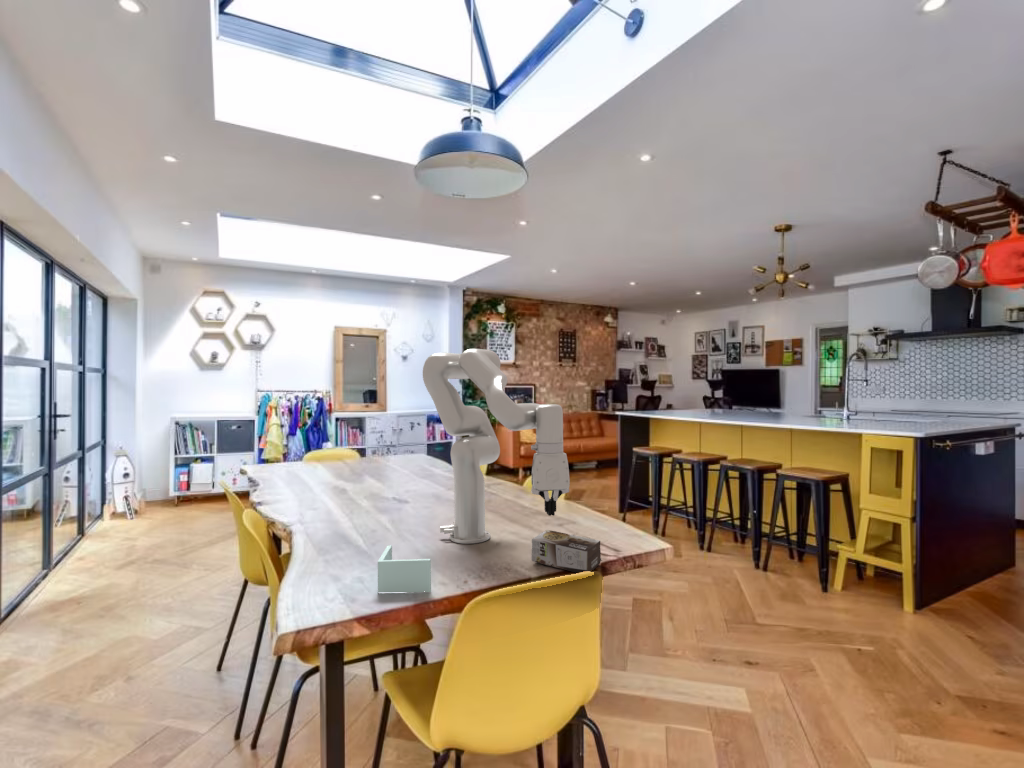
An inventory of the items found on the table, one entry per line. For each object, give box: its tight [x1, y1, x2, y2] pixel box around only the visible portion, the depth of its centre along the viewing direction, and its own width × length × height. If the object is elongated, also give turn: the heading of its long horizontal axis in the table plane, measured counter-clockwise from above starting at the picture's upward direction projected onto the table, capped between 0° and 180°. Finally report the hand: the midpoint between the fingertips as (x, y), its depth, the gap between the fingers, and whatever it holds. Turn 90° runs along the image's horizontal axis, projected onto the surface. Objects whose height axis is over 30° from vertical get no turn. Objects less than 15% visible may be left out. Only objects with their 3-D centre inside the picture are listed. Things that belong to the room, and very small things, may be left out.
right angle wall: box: [377, 544, 432, 593], centre depth 122 cm, size 12×12×8 cm
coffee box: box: [530, 529, 602, 573], centre depth 134 cm, size 9×6×16 cm
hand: (550, 514), depth 141 cm, fingers closed
